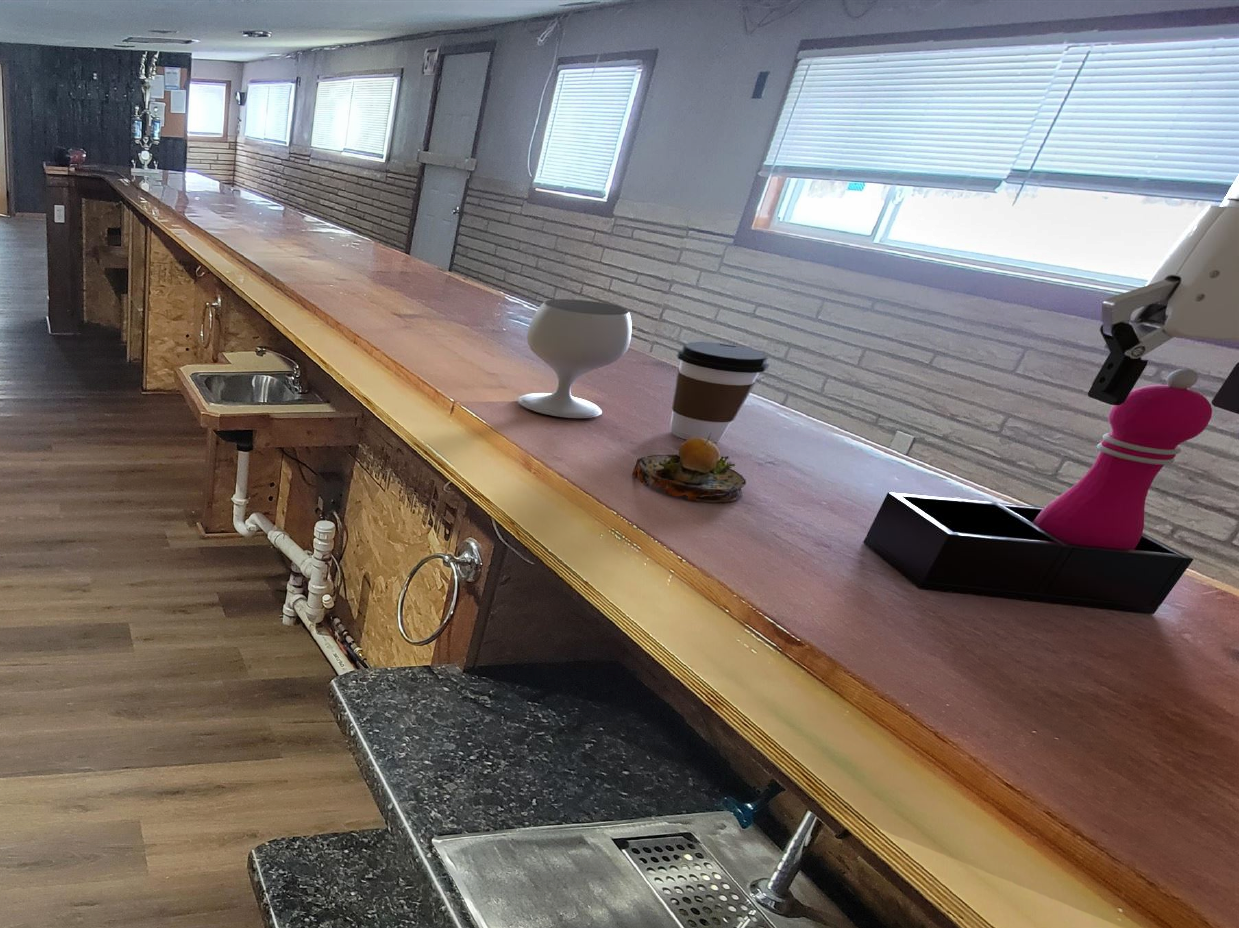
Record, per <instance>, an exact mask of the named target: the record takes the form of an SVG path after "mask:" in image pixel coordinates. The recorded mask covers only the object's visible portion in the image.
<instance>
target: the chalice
mask: <svg viewBox="0 0 1239 928" xmlns="http://www.w3.org/2000/svg"><path fill="white" fill-rule="evenodd" d="M632 325H633V324H632V317H631V313H630V311H629V310H628V309H626V308H625V307H622V306H619V305H615V304H611V303H606V302H600V301H592V300H584V299H572V298H570V299H569V298H557V299H547V300H545V301H543V303H542V304H541V305H540V306H539V307H538V308H537V310H536V312H535V313H534V315H533V317H532V319H531V321H530V323H529V326H528V329H527V335H526V343H527V345H528V347H529V349H530V350H531V352H532V353H533V354H534V355H536V356H537V357H538V358H539V359H541V360H542V361H543V362H544V363H545V364H547V365H548V366H549V367H550V368H551V369H552V370H553V371H554V373H555V374H556V377H557V380H558V385H557V387H556V389H555V390H554V391H553V392H552V393H549V392H537V393H536V392H534V393H533V392H531V393H526V394H523V395H521V396H519V397H518V398H517V403H518V404H519V405H520V406H522V407H524V408H525V409H528V410H531V411H532V412H535V413H539V414H543V415H549V416H552V417H559V418H568V419H590V418H596V417H600V416H601V415H602V414H603V411H602V409H601V408H600V406H598V405H597V404H595V403H594V402H591V401H588V400H586V399H583V398H579V397H574V396H573V395H572V392H571V390H572V389H571V388H572V385H573V383H574V382H575V381H576V380H577V379H578V378H579V377H581V376H582V375H584V374H586V373H589V372H591V371H594V370H597V369H599V368H603V367H605V366H609V365H611V364H613V363H615V362H617V361H619V360H620V359H621V358H622V357H623V356H624V355H625V354H626V352H627V351H628V350H629V347H630V344H631V339H632V331H633V330H632V328H633V327H632Z"/></svg>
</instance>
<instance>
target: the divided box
mask: <svg viewBox="0 0 1239 928" xmlns="http://www.w3.org/2000/svg"><path fill="white" fill-rule="evenodd" d="M1045 507H1046V506H1045ZM1045 507H1044V506H1036V505H1025V504H1013V503H1005V502H1004V503H1002V502H994V501H993V502H991V501H983V500H971V499H963V498H953V497H952V498H951V497H943V496H930V495H921V494H920V495H919V494H911V493H910V494H909V493H900V492H899V493H898V492H890V491H889V492H887V494H886V495H885V497H884V499H883V501H882V503H881V505H880V507H879V509H878V511H877V513H876V515H875V518H874V519H873V521H872V524H871V525H870V528H869V529H868V531H867V533H866V536H865V537H864V540H863V544H864V545H865V546H866V547H868V548H869V549H870V550H871V551H873V552H874V553H875V554H876V555H878V556H879V557H880V558H881V559H883V560H884V561H885V562H886V563H887V564H888V565H890V566H891V567H892V568H893V569H895V571H897V572H898V573H899V574H901V575H902V576H903V577H904V578H906V580H908V581H909V582H910V583H911V584H913V585H914V586H915V587H916V588H918V589H919V590H928V591H937V592H947V593H954V594H955V593H957V594H966V595H973V596H984V597H991V598H992V597H993V598H1002V599H1011V600H1019V601H1020V600H1021V601H1029V602H1040V603H1046V604H1047V603H1048V604H1056V605H1067V606H1075V607H1084V608H1093V609H1103V610H1111V611H1112V610H1113V611H1123V612H1130V613H1139V614H1140V613H1141V614H1149V615H1155V614H1156V612H1157V611H1158V609H1159V607H1161V605H1162V604H1163V602H1164V601H1165V600H1166V598H1167V597H1168V596H1169V594H1170V593H1171V592H1172V590H1173V588H1174V587H1175V586H1176V585H1177V583H1178V582H1179V580H1180V579H1181V577H1182V576H1183V575H1184V573H1185V572H1186V571H1187V570H1188V568H1189V566H1190V565H1191V564H1192V562H1194V558H1193V557H1191V556H1189V555H1187V554H1185V553H1183V552H1181V551H1179V550H1177V549H1175V548H1173V547H1172V546H1169V545H1168V544H1165V543H1163V542H1161V541H1160V540H1158V539H1156V538H1154V537H1152V536H1150V535H1148V534H1146V533H1144V532H1142V536H1141V539H1140V541H1139V542H1138V544H1137V546H1136V548H1135V549H1134V550H1128V549H1118V548H1108V547H1098V546H1088V545H1078V544H1068V543H1066V542H1064V541H1063V540H1061V539H1059V538H1058V537H1056V536H1054V535H1052V534H1051V533H1049V532H1047V531H1046V530H1044V529H1042V528H1040V527H1039V526H1037V525H1035V524H1034V523H1033V521H1034V520H1035V519H1036V517H1037V516H1038V515H1039V513H1040V512H1041V511H1042V510H1043V509H1044V508H1045Z"/></svg>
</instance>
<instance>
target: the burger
mask: <svg viewBox="0 0 1239 928" xmlns="http://www.w3.org/2000/svg"><path fill="white" fill-rule="evenodd" d="M711 433H712V432H711ZM710 435H711V434H710ZM710 435H709V437H710ZM709 437H708V439H703V438H691V439H689V440H685V441H684V442H682V443H681V444H680V446H679V449H678V453H676V454H651V455H648V456H647V455H646V456H641V457H638V458H637V459H636V461H635V464H634V465H635V466H634V468H633V471H632V477H633V478H635V477H637V478H638V481H639V483H640V484H642V485H643V484H645V486H646V487H648V486H654V487H655V488H657V487H659V488H661V489H663V490H664V493H665V494H666V495H672V496H673V497H681V496H684V495H685V496H686V497H687V500H692V501H699V502H709V503H710V502H715V503H716V502H717V503H721V502H722V503H723V502H731V501H732V502H733V501H735V500H739V499H740V498H742V497H743V490H742V488H744V487H745V486H746V484H747V479H745V477H744V476H743V475H742V474H741V473H739V472H737V471H736V470H735V469H732V467H735V466H736V463H732V462H730V461H729V462H727V460H728V459H730V457H729V455H726V456H723V455H722V456H721V453H720V450H719V448H718V446H717V445H716V444H715V442H711V441H709ZM726 462H727V463H726Z"/></svg>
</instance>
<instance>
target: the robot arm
mask: <svg viewBox="0 0 1239 928" xmlns="http://www.w3.org/2000/svg"><path fill="white" fill-rule="evenodd" d="M1101 323H1102V325H1100V327H1099V332H1100V334H1101V336H1102V338H1103V340H1104V342H1105V343H1104V350H1105V351H1106V352H1109V354H1108V355H1107V358H1106V359H1105V361H1104V362H1103V364H1102V366H1101V368H1099V371H1098V373H1097V375H1096V376H1095V378H1094V379H1093V381H1092V383H1091V386H1090V389H1089V390H1088V393H1087V396H1088V397H1089V398H1092V399H1093V400H1096V401H1099V402H1102V403H1105V404H1107V405H1111V406H1114V405H1121V404H1123V403H1124V402H1125V400H1126V399H1127V397H1128V395H1129V394H1130V392H1131V391H1132V390H1134V387H1135V386H1136V384H1137V382H1138V381H1139V379H1140V377H1141V376H1142V374H1143V373H1144V370H1145V369H1146V368H1147V365H1148V362H1149V360H1148V359H1145V358H1142V357H1143V356H1145V355H1147V354H1149V353H1150V352H1152V351H1154V350H1155V349H1157V348H1158V347H1160V346H1162V345H1163V344H1166V343H1167V342H1169V341H1170V340H1172V339H1173V338H1177V339H1184V340H1185V339H1186V340H1198V341H1209V342H1210V341H1212V342H1228V343H1239V175H1238V176H1237V177H1236V179H1235V181H1234V182H1233V184H1232V185H1231V187H1230V188H1229V190H1228V192H1227V194H1226V196H1225V197H1224V199H1223V201H1222V202H1221V204H1220V205H1211V204H1210V205H1207V207H1205V209H1204V210H1203V211H1202V212H1201V213H1200V214H1199V215H1198V216H1197V217H1196V219H1195V220H1193V222H1192V223H1190V225H1189V226H1188V228H1187V229H1186V230H1185V231H1184V232H1183V233H1182V235H1181V236H1180V237H1179V239H1178V240H1177V241H1176V242H1175V243H1174V244H1173V246H1172V247H1171V249H1170V250H1169V251H1168V252H1167V254H1166V255H1165V257H1164V258H1163V259H1162V261H1161V262H1160V264H1159V266H1157V268H1156V270H1155V271H1154V273H1153V274H1152V275H1151V277H1150V278H1149V279H1148V281H1147V283H1146V284H1145V285H1144V286H1141V287H1138V288H1136V289H1135V288H1134V289H1132V290H1129V291H1126V292H1123V293H1120V294H1117V295H1114V296H1110V297H1108V298H1106V299H1105V300H1103V302H1102V303H1101ZM1210 404H1211V406H1213V407H1216V408H1218V409H1221V410H1224V411H1228V412H1230V413H1234V414H1237V415H1239V361H1238V362H1237V363H1235V364H1234V367H1233V368H1232V369H1231V371H1230V372H1229V374H1228V376H1227V377H1226V379H1225V380H1224V382H1223V383H1222V385H1221V386H1220V388H1219V389H1218V390H1217V392H1216V394H1215V395H1214V397H1213V398H1212V400H1211V403H1210Z"/></svg>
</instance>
